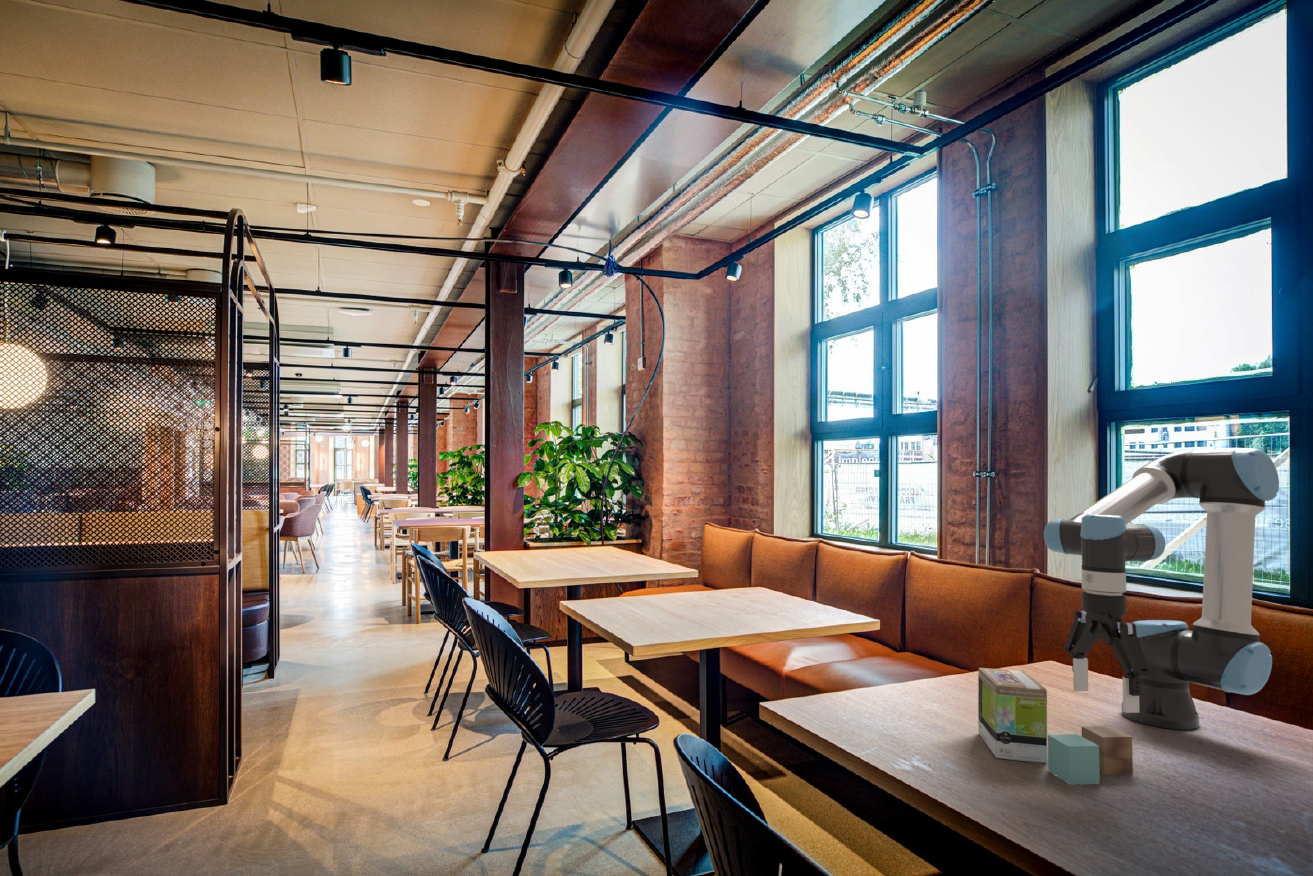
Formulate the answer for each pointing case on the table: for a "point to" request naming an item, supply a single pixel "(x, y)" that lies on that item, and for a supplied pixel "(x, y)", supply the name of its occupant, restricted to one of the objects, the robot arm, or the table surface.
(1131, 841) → the table surface
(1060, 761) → the teal block
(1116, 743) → the walnut block
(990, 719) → the tea box
